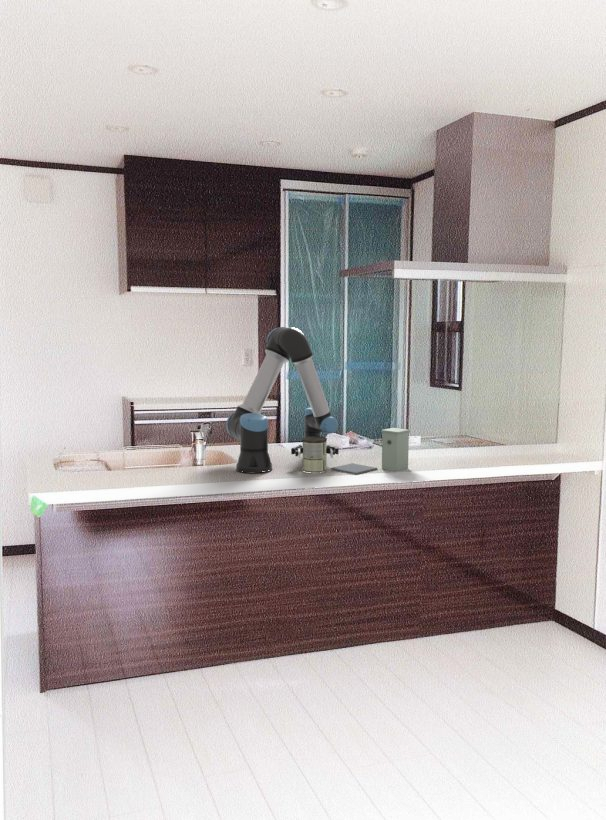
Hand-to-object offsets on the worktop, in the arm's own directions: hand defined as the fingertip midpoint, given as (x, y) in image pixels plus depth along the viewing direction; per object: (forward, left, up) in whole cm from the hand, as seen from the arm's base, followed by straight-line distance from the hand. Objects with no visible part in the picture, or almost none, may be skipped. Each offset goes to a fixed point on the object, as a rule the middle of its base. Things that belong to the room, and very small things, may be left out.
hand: (315, 454), depth 306 cm
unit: (+29, -19, -7) cm, 36 cm away
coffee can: (+1, +2, -8) cm, 8 cm away
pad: (+15, -8, -7) cm, 19 cm away
